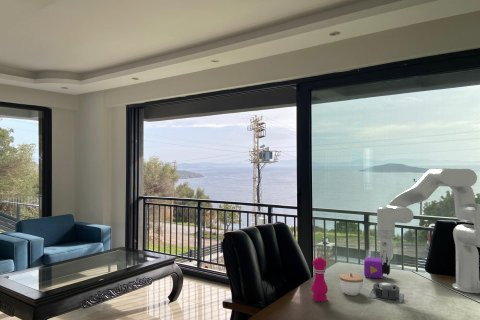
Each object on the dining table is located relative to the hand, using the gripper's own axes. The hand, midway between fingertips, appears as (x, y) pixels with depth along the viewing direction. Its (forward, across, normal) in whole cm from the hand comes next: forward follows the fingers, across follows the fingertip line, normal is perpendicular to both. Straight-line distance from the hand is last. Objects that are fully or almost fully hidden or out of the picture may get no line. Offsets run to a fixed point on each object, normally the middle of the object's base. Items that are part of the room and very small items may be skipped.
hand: (385, 273), depth 164 cm
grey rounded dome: (+9, 0, 0) cm, 9 cm away
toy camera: (+11, +30, +8) cm, 33 cm away
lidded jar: (+11, -4, +15) cm, 19 cm away
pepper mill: (+11, -19, +26) cm, 34 cm away
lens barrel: (+10, 0, 0) cm, 10 cm away
